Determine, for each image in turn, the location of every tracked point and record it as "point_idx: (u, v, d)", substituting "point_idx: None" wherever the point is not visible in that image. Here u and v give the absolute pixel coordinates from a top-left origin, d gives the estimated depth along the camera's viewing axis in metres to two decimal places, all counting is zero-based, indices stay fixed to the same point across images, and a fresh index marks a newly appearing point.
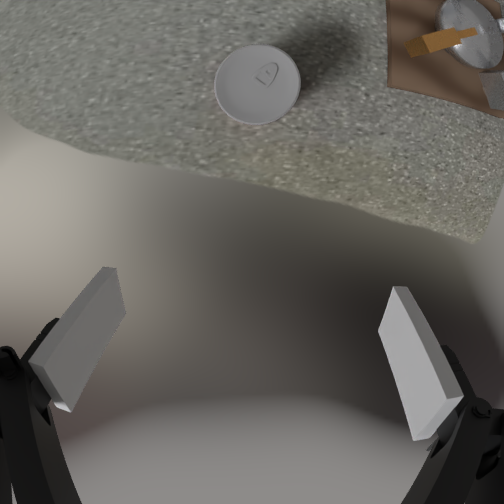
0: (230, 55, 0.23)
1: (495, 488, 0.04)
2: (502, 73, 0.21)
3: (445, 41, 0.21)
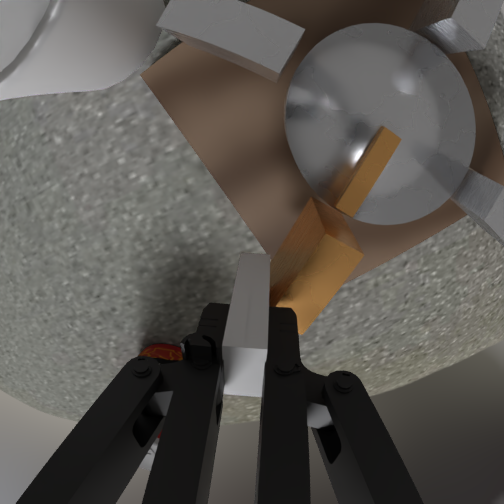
0: None
1: (352, 475, 0.06)
2: (488, 217, 0.11)
3: (321, 288, 0.13)
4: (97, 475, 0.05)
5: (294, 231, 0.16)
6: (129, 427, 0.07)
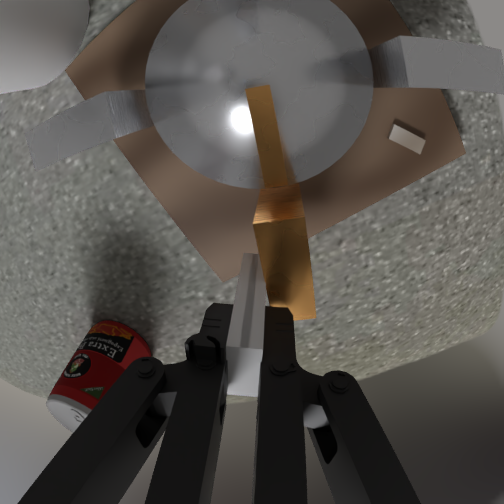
0: None
1: (348, 475, 0.06)
2: (410, 80, 0.08)
3: (294, 269, 0.13)
4: (100, 476, 0.05)
5: None
6: (133, 428, 0.07)
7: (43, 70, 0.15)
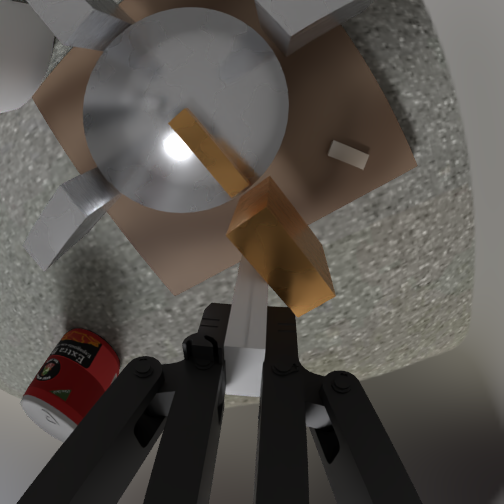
0: (23, 409, 0.20)
1: (350, 475, 0.06)
2: (288, 29, 0.08)
3: (286, 259, 0.12)
4: (98, 475, 0.05)
5: None
6: (131, 427, 0.07)
7: (12, 97, 0.15)
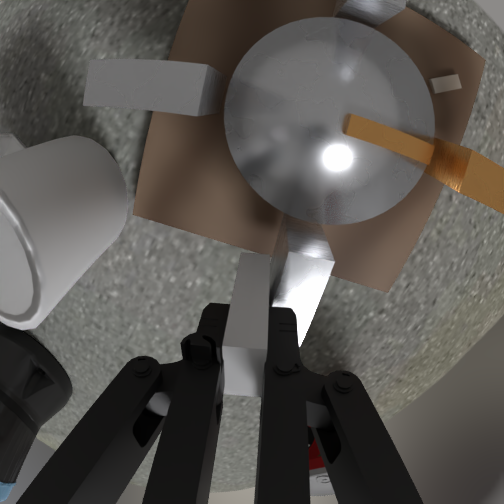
0: None
1: (352, 475, 0.06)
2: (399, 3, 0.07)
3: (499, 182, 0.10)
4: (97, 475, 0.05)
5: None
6: (130, 427, 0.07)
7: (112, 227, 0.20)
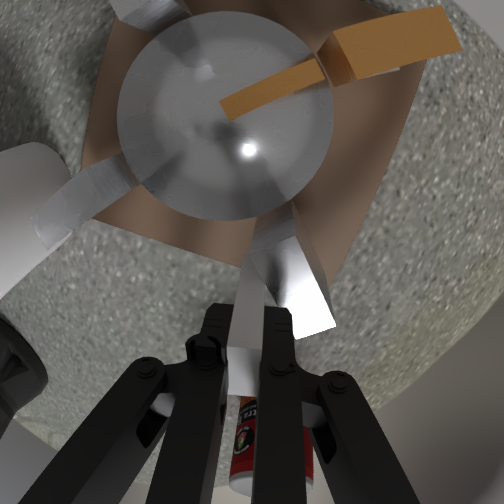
0: None
1: (347, 475, 0.06)
2: None
3: (395, 32, 0.08)
4: (100, 476, 0.05)
5: None
6: (133, 428, 0.07)
7: None
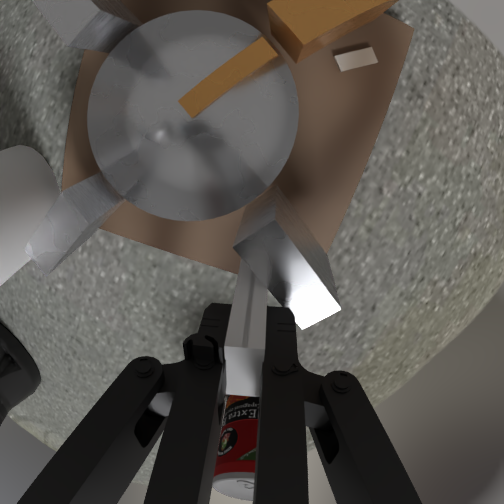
0: None
1: (350, 475, 0.06)
2: (94, 13, 0.08)
3: None
4: (99, 475, 0.05)
5: (330, 41, 0.11)
6: (131, 427, 0.07)
7: None
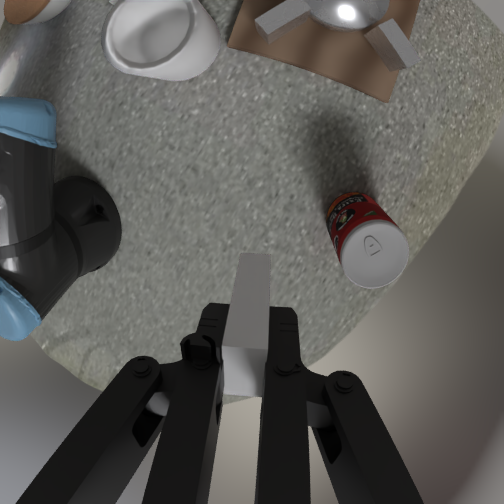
0: (344, 268, 0.31)
1: (352, 475, 0.06)
2: None
3: None
4: (97, 475, 0.05)
5: None
6: (129, 427, 0.07)
7: (214, 48, 0.29)
